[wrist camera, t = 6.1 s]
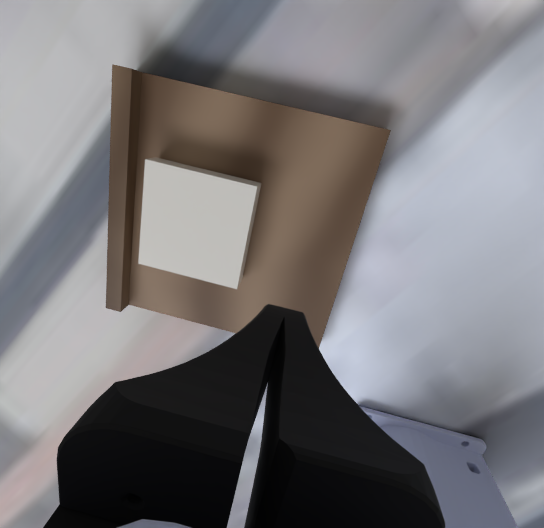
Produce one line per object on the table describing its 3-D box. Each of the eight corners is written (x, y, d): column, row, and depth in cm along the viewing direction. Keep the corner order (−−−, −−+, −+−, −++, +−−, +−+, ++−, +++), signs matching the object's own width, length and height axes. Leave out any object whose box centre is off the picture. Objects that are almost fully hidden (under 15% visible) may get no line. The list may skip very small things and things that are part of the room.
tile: (257, 186, 17) (145, 159, 17) (236, 289, 19) (138, 263, 20) (262, 182, 18) (158, 157, 19) (242, 278, 21) (150, 255, 21)
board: (386, 130, 18) (394, 130, 16) (316, 343, 23) (316, 364, 21) (135, 71, 18) (112, 64, 16) (124, 292, 24) (105, 307, 22)
